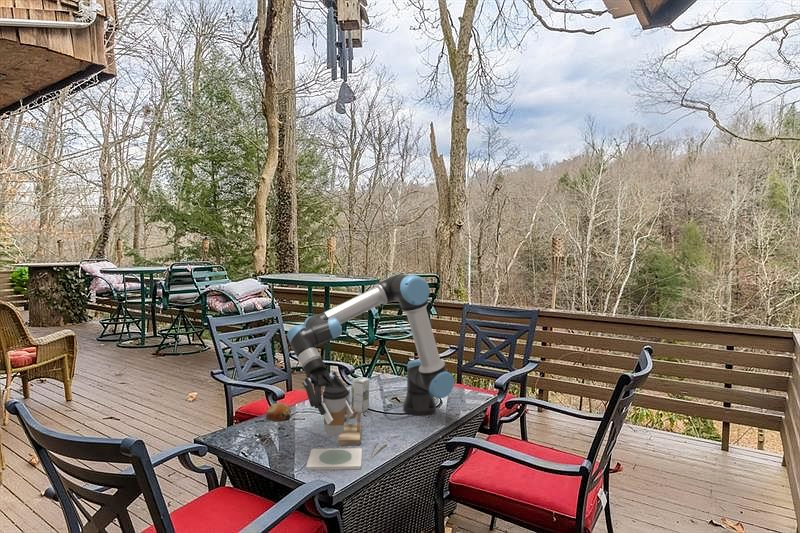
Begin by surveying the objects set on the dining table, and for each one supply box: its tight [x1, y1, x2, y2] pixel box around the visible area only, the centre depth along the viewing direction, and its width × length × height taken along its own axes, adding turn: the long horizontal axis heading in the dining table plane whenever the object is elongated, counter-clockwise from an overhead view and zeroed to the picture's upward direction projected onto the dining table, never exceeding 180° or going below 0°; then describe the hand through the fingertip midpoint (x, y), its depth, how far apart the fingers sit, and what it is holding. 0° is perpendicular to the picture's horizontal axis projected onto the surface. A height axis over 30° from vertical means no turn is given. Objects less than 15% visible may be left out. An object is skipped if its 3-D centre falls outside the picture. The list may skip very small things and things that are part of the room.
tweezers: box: [368, 442, 388, 462], centre depth 165 cm, size 18×5×2 cm, turn 165°
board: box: [305, 447, 363, 471], centre depth 159 cm, size 18×14×1 cm
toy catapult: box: [337, 406, 362, 446], centre depth 180 cm, size 19×8×10 cm, turn 3°
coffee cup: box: [322, 386, 347, 437], centre depth 158 cm, size 8×8×15 cm
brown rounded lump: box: [265, 402, 292, 422], centre depth 199 cm, size 10×10×8 cm
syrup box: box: [351, 376, 370, 414], centre depth 209 cm, size 6×6×14 cm
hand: (340, 418), depth 156 cm, fingers closed on coffee cup, 8 cm apart
